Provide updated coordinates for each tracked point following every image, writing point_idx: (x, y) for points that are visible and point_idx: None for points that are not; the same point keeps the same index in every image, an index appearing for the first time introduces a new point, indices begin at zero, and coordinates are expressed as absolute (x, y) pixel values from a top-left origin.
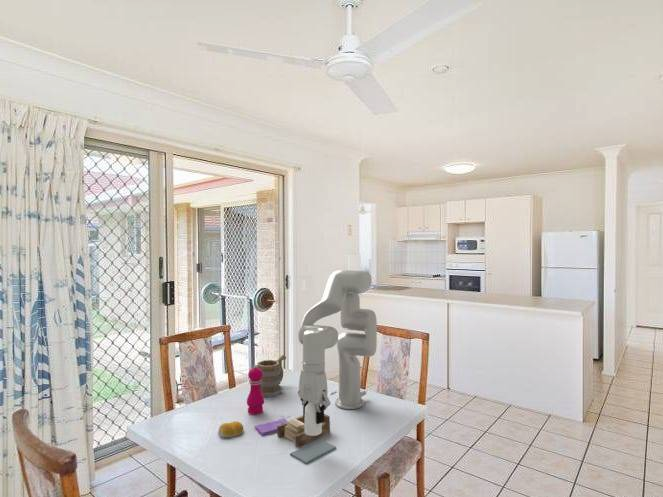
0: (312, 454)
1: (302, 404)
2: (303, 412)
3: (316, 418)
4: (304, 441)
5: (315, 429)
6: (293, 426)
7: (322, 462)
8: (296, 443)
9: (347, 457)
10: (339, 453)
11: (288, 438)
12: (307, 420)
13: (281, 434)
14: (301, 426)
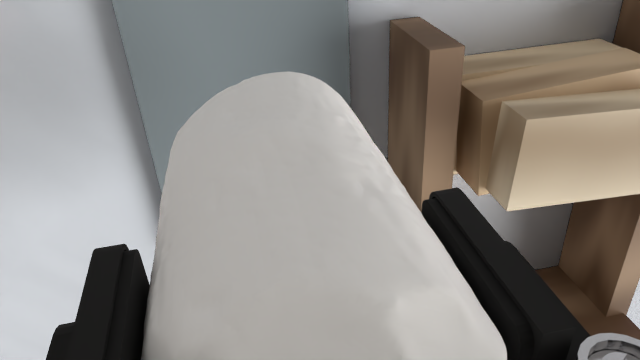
0: (184, 40)
1: (638, 353)
2: (494, 240)
3: (102, 310)
4: (396, 105)
5: (164, 183)
6: (576, 106)
7: (34, 44)
8: (419, 26)
9: (3, 244)
10: (94, 229)
11: (553, 44)
12: (282, 171)
13: (633, 20)
14: (509, 165)
